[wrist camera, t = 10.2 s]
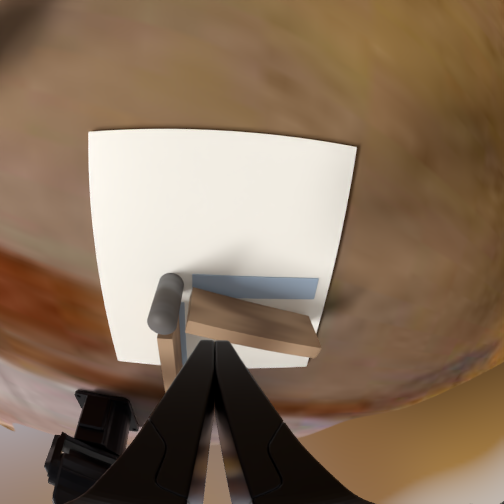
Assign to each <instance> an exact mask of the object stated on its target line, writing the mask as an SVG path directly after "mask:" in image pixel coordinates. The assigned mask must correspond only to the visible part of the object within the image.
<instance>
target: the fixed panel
mask: <svg viewBox="0 0 504 504" xmlns="http://www.w3.org/2000/svg"><path fill="white" fill-rule="evenodd" d="M183 288H184V282H183V280H182V278H181V277H180V276H179V275H177V274H174V273H166V274H164V275H163V276H161V278H160V280H159V283H158V286H157V289H156V292H155V295H154V299H153V302H152V305H151V308H150V312H149V315H148V318H147V324H148V326H149V328H150V329H151V330H152V331H154V332H155V333H158V335H157V343H158V350H159V357H160V364H161V370H162V376H163V382H164V387H165V393H166V391H167V390H168V388H169V387H170V385H171V384H172V382H173V381H174V379H175V378H176V376H177V374H178V373H179V371H180V370H181V368H182V367H183V365H182V353H181V340H180V324H179V311H180V305H181V299H182V294H183Z"/></svg>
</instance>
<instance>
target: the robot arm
mask: <svg viewBox="0 0 504 504" xmlns="http://www.w3.org/2000/svg"><path fill="white" fill-rule="evenodd" d="M75 397H76V399H77V400H78V402H79V404H80V406H81V408H82V412H81V415H80V418H79V422H78V425H77V429H76V432H75V436H74V438H73V437H71V436H68V435H67V434H66V433H64V432H62V434H61V435H55V436H54V439H53V442H52V446H51V448H50V451H49V454H48V456H47V459H46V462H45V465H44V467H45V469H46V471H47V472H48V475H47V476H48V477H49V479H48V483H49V484H52V485H54V486H55V487H54V492H53V500H52V501H53V504H203V499H204V491H205V482H206V473H207V465H208V456H209V448H210V440H211V432H212V424H213V417H214V403H215V415H216V422H217V428H218V434H219V440H220V445H221V451H222V456H223V462H224V467H225V472H226V478H227V482H228V487H229V492H230V497H231V502H232V504H375V503H372V502H369V501H366V500H364V499H362V498H360V497H358V496H357V495H355V494H353V493H352V492H351V491H349V490H348V489H347V488H346V487H344V486H343V485H342V484H341V483H340V482H339V481H338V480H337V479H336V478H335V477H333V475H331V474H330V473H329V472H328V471H327V470H326V469H325V468H324V467H323V466H322V465H321V464H320V463H319V462H318V461H317V460H316V459H315V458H314V457H313V456H312V455H311V454H310V453H309V452H308V451H307V450H306V449H305V448H304V447H303V445H302V444H301V443H300V442H299V441H298V439H297V438H296V437H295V436H294V434H293V433H292V432H291V430H290V429H289V428H288V426H287V425H286V423H284V422H283V420H282V418H281V417H280V415H279V414H278V413H277V411H276V410H275V408H274V407H273V405H272V404H271V403H270V401H269V400H268V398H267V397H266V395H265V394H264V392H263V391H262V390H261V388H260V387H259V385H258V384H257V382H256V381H255V379H254V378H253V376H252V375H251V373H250V372H249V370H248V369H247V367H246V366H245V364H244V363H243V361H242V360H241V358H240V357H239V355H238V354H237V352H236V351H235V349H234V347H233V346H232V344H231V343H230V342H229V341H228V340H216V341H215V342H214V341H213V340H200V341H199V342H198V344H197V345H196V347H195V349H194V350H193V352H192V353H191V355H190V356H189V358H188V359H187V361H186V362H185V364H184V365H183V367H182V368H181V370H180V371H179V373H178V374H177V376H176V378H175V379H174V381H173V382H172V384H171V385H170V387H169V388H168V390H167V391H166V393H165V394H164V396H163V397H162V399H161V400H160V402H159V403H158V405H157V406H156V408H155V409H154V411H153V412H152V414H151V416H150V417H149V420H147V421H146V423H145V424H144V426H143V427H142V429H141V430H140V432H139V433H138V435H137V436H136V437H135V439H134V440H133V442H132V443H131V444H130V445H129V446H128V448H127V449H126V445H127V439H128V434H129V431H138V429H139V427H138V424H137V421H136V419H135V416H134V413H133V410H132V408H131V405H130V402H129V400H127V399H124V398H117V397H111V396H104V395H98V394H93V393H87V392H82V391H76V392H75ZM62 452H64V453H62ZM500 504H504V501H503V502H502V503H500Z"/></svg>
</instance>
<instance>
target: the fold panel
mask: <svg viewBox="0 0 504 504" xmlns="http://www.w3.org/2000/svg"><path fill="white" fill-rule="evenodd" d="M185 333H189V334H193V335H197V336H201V337H206V338H210V339H214V340H228V341H229V342H230V343H232V344H237V345H242V346H247V347H252V348H257V349H262V350H267V351H273V352H278V353H284V354H290V355H296V356H302V357H309V358H316V356H317V355H318V353H319V352H320V350H321V349H322V348H321V345H320V343H319V340H318V338H317V335H316V333H315V330H314V328H313V325H312V323H311V320H310V318H309V316H307V315H303V314H299V313H294V312H290V311H286V310H281V309H277V308H273V307H269V306H265V305H260V304H256V303H252V302H248V301H244V300H240V299H236V298H233V297H229V296H225V295H221V294H217V293H213V292H210V291H206V290H202V289H199V288H195V287H193V289H192V292H191V295H190V299H189V306H188V313H187V321H186V329H185Z"/></svg>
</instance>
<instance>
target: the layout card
mask: <svg viewBox="0 0 504 504" xmlns="http://www.w3.org/2000/svg"><path fill="white" fill-rule="evenodd" d="M356 150H357V147H354V146H349V145H343V144H338V143H332V142H325V141H319V140H312V139H305V138H298V137H290V136H281V135H272V134H262V133H251V132H239V131H224V130H203V129H125V130H105V131H91V132H89V183H90V200H91V213H92V224H93V233H94V241H95V249H96V257H97V264H98V270H99V276H100V282H101V288H102V293H103V298H104V303H105V308H106V313H107V318H108V322H109V327H110V331H111V335H112V339H113V343H114V347H115V351H116V355H117V358H118V361H125V362H134V363H144V364H155V365H161V364H160V357H159V350H158V343H157V335H158V333H155V332H154V331H152V330H151V329H150V328H149V326H148V324H147V318H148V315H149V312H150V308H151V305H152V302H153V299H154V295H155V292H156V289H157V286H158V283H159V280H160V278H161V276H163V275H164V274H166V273H174V274H177V275H179V276H180V277H181V278H182V280H183V282H184V288H183V294H182V299H181V305H180V311H179V324H180V340H181V353H182V365H184V364H185V362H186V361H187V359H188V358H189V356H190V355H191V353H192V352H193V350H194V349H195V347H196V345H197V344H198V342H199V341H200V340H213V341H214V342H215V341H216V340H214V339H210V338H206V337H201V336H197V335H193V334H189V333H185V329H186V321H187V313H188V306H189V299H190V295H191V292H192V289H193V287H195V288H199V289H202V290H206V291H210V292H213V293H217V294H221V295H225V296H229V297H233V298H236V299H240V300H244V301H248V302H252V303H256V304H260V305H265V306H269V307H273V308H277V309H281V310H286V311H290V312H294V313H299V314H303V315H307V316H309V318H310V320H311V323H312V325H313V328H314V330H315V333H317V329H318V326H319V322H320V318H321V315H322V311H323V307H324V304H325V300H326V296H327V292H328V288H329V284H330V280H331V276H332V272H333V268H334V264H335V259H336V255H337V251H338V246H339V241H340V237H341V232H342V227H343V223H344V218H345V213H346V208H347V202H348V197H349V192H350V186H351V180H352V175H353V169H354V162H355V156H356ZM231 344H232V343H231ZM232 346H233V347H234V349H235V351H236V352H237V354H238V355H239V357H240V358H241V360H242V361H243V363H244V364H245V366H246V367H247V368H285V367H306V366H307V363H308V360H309V357H302V356H296V355H290V354H284V353H278V352H273V351H267V350H262V349H257V348H252V347H247V346H242V345H237V344H232Z"/></svg>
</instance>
